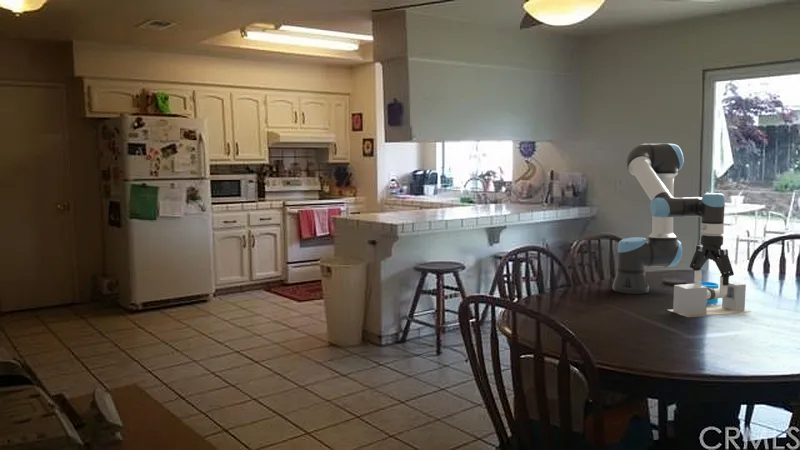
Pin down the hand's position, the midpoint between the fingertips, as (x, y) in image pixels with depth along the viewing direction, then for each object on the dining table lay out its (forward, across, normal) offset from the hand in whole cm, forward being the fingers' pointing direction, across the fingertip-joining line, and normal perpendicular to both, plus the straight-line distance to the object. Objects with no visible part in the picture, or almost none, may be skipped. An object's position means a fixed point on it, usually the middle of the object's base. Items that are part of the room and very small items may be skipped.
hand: (710, 290), depth 241 cm
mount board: (+9, 0, 0) cm, 9 cm away
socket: (+8, 0, +11) cm, 14 cm away
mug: (+9, -16, +12) cm, 22 cm away
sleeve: (+8, 0, -8) cm, 11 cm away
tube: (+4, 0, -3) cm, 5 cm away
